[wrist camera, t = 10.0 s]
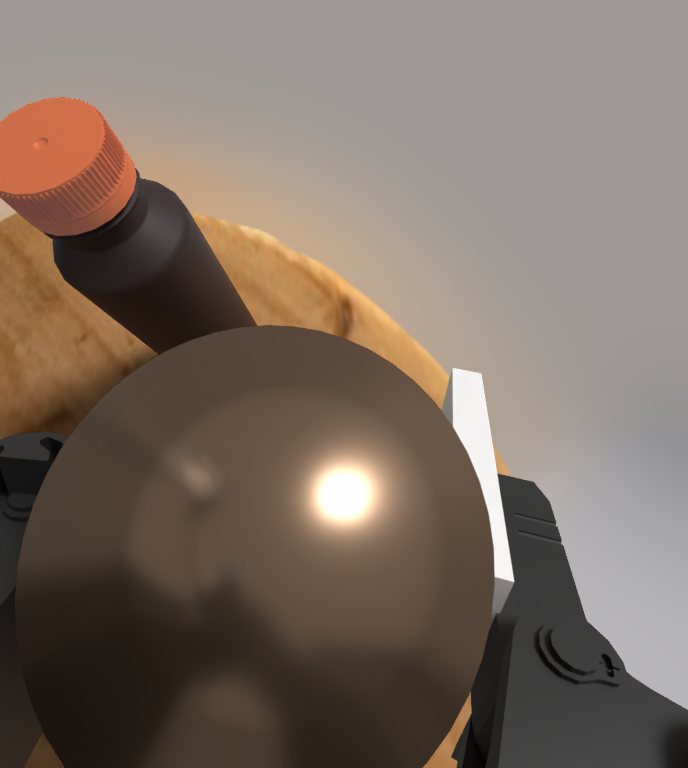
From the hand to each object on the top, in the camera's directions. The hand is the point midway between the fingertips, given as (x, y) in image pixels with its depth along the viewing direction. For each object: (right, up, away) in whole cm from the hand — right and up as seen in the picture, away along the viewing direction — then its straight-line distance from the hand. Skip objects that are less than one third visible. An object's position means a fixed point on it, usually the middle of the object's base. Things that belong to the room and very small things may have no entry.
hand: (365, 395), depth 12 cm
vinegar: (-10, +3, +23) cm, 25 cm away
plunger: (0, -9, +16) cm, 18 cm away
